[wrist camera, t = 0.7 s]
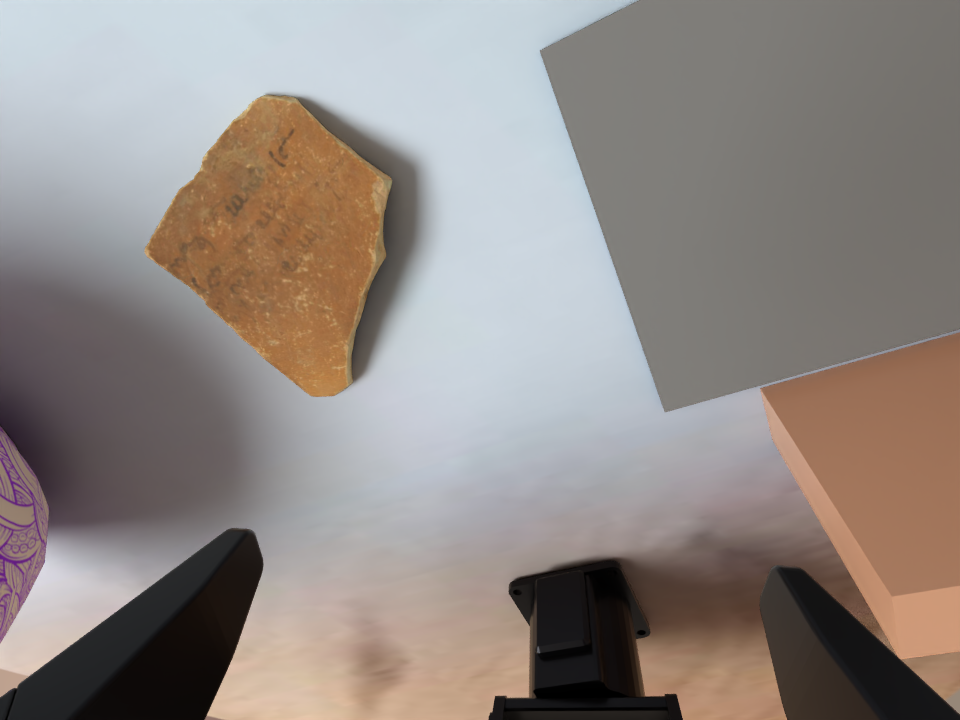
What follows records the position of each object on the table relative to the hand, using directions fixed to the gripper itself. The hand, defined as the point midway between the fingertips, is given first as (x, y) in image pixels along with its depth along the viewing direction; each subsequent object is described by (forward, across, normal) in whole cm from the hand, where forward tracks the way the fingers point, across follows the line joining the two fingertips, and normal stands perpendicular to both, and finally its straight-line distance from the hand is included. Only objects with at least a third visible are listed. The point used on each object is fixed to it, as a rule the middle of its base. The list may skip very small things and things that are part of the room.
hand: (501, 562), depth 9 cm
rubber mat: (+14, -11, -4) cm, 18 cm away
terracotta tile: (+14, -14, +5) cm, 21 cm away
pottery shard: (+14, +8, -1) cm, 17 cm away
